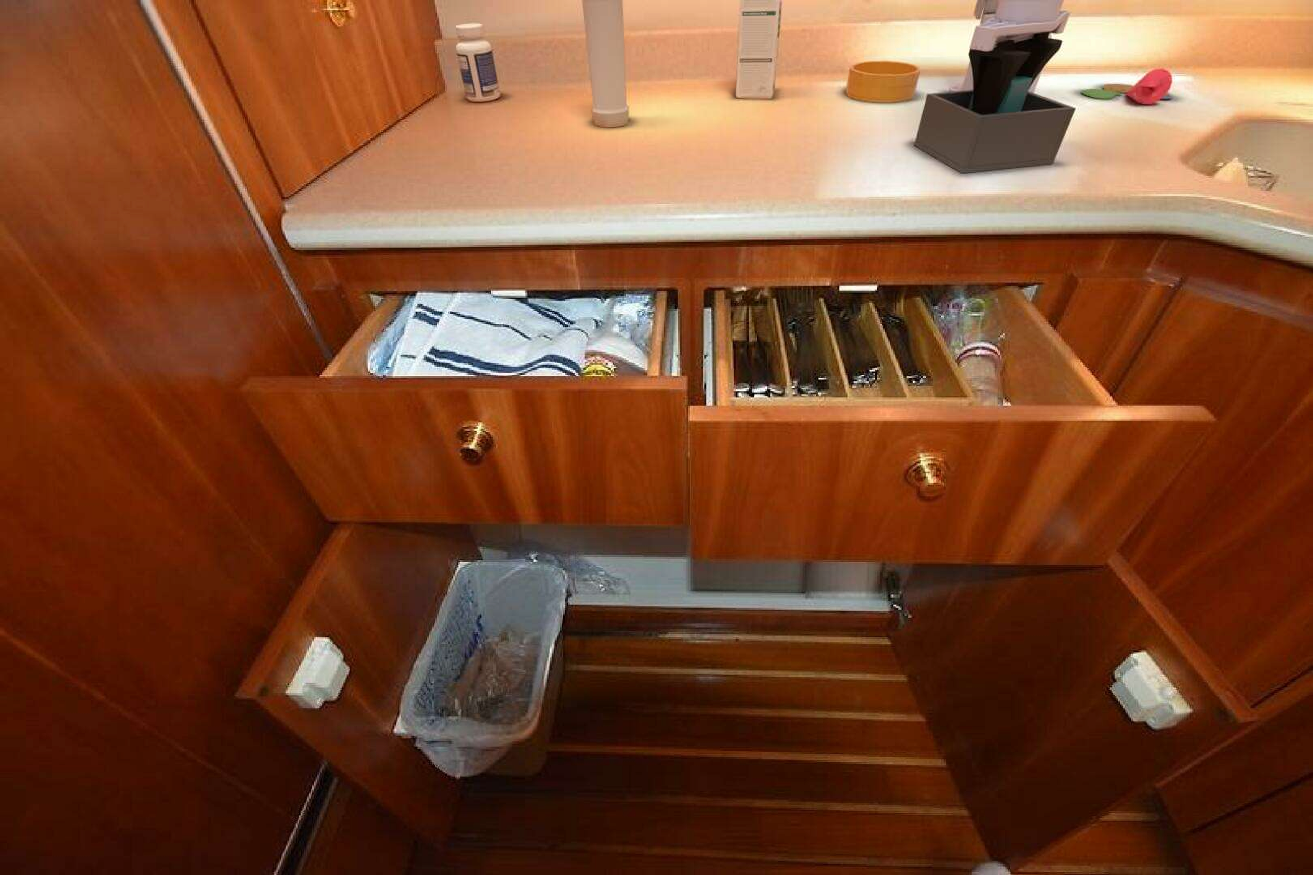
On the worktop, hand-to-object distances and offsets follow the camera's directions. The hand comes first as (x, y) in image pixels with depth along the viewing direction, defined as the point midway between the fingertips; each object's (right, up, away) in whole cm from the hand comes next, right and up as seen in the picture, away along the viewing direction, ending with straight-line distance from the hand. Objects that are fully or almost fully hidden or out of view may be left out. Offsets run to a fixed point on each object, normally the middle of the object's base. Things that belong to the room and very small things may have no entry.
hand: (992, 117), depth 66 cm
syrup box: (-22, +18, +26) cm, 39 cm away
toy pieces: (+31, +14, +20) cm, 39 cm away
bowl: (-4, +17, +24) cm, 29 cm away
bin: (0, -3, +3) cm, 4 cm away
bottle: (-44, +8, +17) cm, 48 cm away
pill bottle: (-66, +19, +29) cm, 74 cm away
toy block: (0, -2, +1) cm, 2 cm away
